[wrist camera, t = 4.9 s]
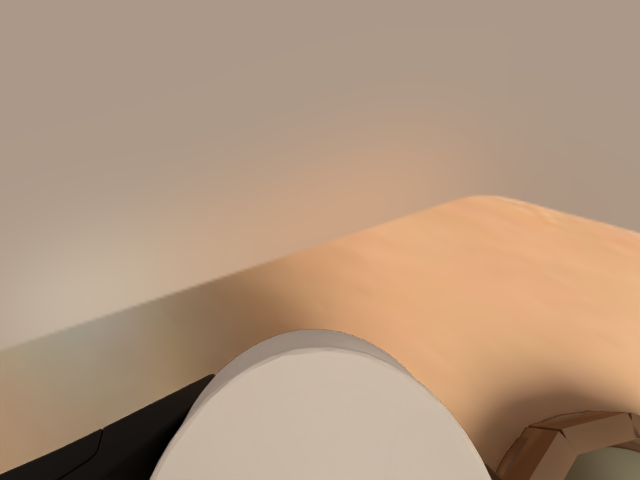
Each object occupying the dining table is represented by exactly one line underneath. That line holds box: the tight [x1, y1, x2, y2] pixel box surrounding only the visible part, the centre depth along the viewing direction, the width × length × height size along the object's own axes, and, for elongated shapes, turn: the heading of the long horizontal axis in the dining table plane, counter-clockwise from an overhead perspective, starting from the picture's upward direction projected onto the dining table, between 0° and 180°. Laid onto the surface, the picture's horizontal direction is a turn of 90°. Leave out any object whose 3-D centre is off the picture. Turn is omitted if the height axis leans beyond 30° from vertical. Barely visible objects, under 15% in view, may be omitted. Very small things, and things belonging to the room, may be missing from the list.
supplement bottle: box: [150, 329, 491, 480], centre depth 9 cm, size 7×7×13 cm
